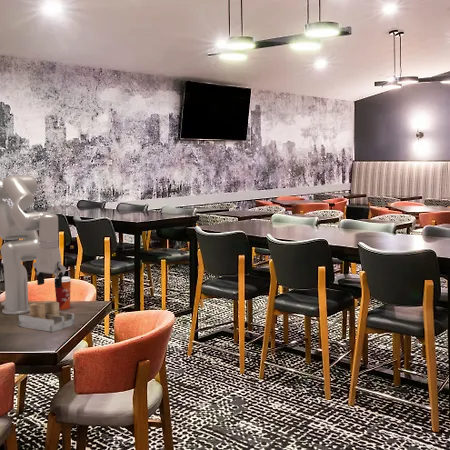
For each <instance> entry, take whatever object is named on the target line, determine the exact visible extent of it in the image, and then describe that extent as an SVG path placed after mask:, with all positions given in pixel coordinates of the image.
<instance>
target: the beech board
mask: <svg viewBox="0 0 450 450" xmlns="http://www.w3.org/2000/svg"><path fill="white" fill-rule="evenodd" d="M43 305H45V314H51V315H57V316H59V311H60V310H59V302H56V301H51V300H46V301H44V302H43Z"/></svg>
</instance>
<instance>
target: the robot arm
mask: <svg viewBox="0 0 450 450" xmlns="http://www.w3.org/2000/svg"><path fill="white" fill-rule="evenodd" d="M37 191H38V182H37V179H36V178H35V176H34V177H33V176H32V175H28V174H26V175H22V174H21V175H20V174H19V175H8V176H6V177H5V178H4V179H0V239H2V240H4V241H6V242H4V243H3V244H2V245H1V248H0V255H1V259H2V263H3V272H4V294H5V299H4V300H3V301H2V302H0V303H1V306H4V308H3V309H2V314H5V315H24V314H27V313H29V312H30V305H29V286H28V284H29V282H28V271H27V269H26V267H25V265H23V264H22V262H26V261H27V262H28V261H35V262H34V263H33V262H32V266H33V267H32V268H33V270H34V272H35V275H36V276H37V278H36V281H37V286H41V285H44V284H45V274H49V275H52V274H53V275H54V279H55V282H54V289H55V288H60V287H62V277H65V274H66V271H67V268H66V266H64V265H63V264H62V256H61V255H62V254H61V250H60V248H59V216H58V215H57V214H55V213H50V212H48V211H35V212H34V211H33V212H32V211H31V212H24V211H25V210H27V209H29V208H30V207H31V206H32V205H33V203H34V201H35V198H34V197H35V196H34V194H35V193H36V192H37ZM3 199H10V201H11V202H12V203H13V204H12V207H11V205H9V203H7V202H6V201H5V200H3Z"/></svg>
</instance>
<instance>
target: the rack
mask: <svg viewBox="0 0 450 450" xmlns="http://www.w3.org/2000/svg"><path fill="white" fill-rule="evenodd" d="M28 313H29V314H28V315H27V314H26V315H25V314H18V327H22V328H27V329H30V330H31V329H33V330H38V331H44V332H50V333H54V332H57V331H60V330H62V329H66V328H68V327H71V326H75V313H73V312H68V311H67V312H66V311H62V310H59V316H57V315H51V314H45V318H46V319H45V318H39V317H33V316H30V312H28Z"/></svg>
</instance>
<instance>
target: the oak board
mask: <svg viewBox="0 0 450 450" xmlns="http://www.w3.org/2000/svg"><path fill="white" fill-rule="evenodd" d="M29 306H30V314H29V316H33V317H39V318H45V305H44V304H41V303H30V304H29ZM45 319H46V318H45Z"/></svg>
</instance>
